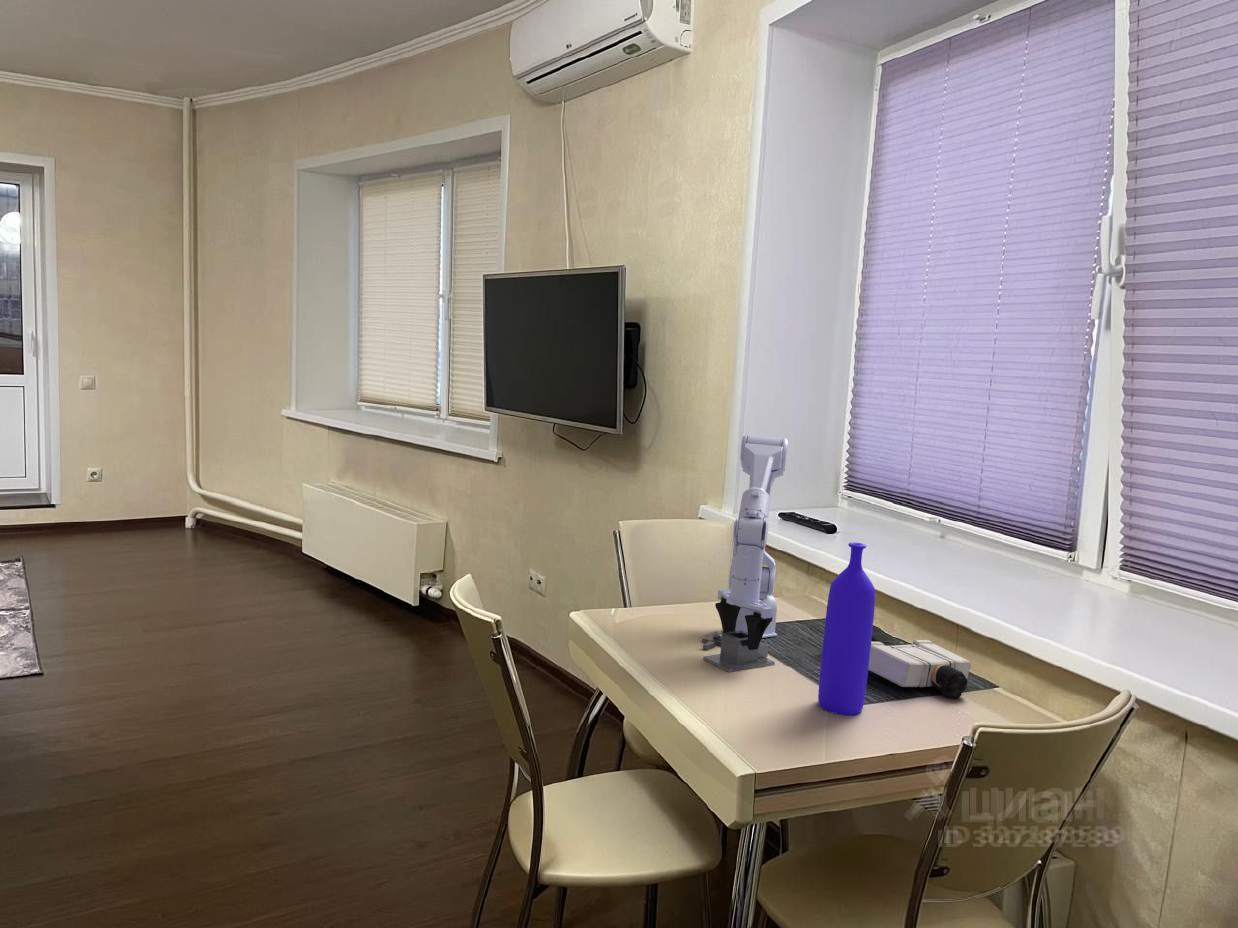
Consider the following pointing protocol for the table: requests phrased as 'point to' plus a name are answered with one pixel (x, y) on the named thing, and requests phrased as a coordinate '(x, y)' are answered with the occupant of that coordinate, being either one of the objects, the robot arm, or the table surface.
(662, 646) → the table surface
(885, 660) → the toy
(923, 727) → the table surface
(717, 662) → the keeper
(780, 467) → the robot arm
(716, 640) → the gray t-shaped latch
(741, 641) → the gray hollow cube
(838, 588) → the bottle
